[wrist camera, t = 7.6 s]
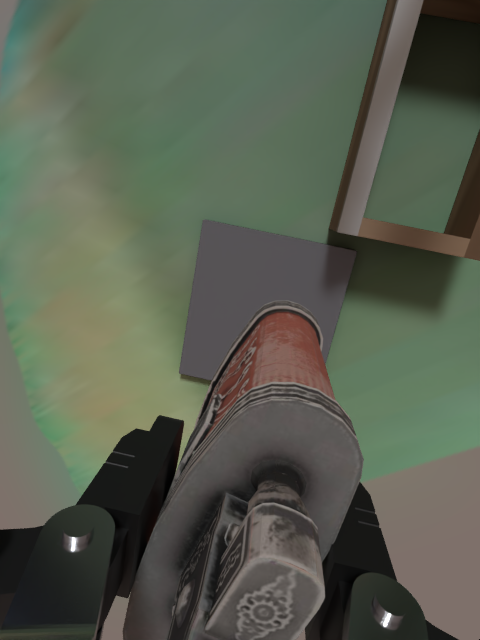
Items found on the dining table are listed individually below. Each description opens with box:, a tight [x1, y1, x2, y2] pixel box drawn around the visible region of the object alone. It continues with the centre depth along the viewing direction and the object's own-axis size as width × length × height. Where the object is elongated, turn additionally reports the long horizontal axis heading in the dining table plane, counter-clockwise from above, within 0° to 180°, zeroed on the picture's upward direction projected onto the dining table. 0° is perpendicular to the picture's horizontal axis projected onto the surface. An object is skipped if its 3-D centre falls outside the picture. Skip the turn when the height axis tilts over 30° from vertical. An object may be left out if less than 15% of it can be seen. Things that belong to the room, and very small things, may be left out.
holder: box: [329, 0, 480, 261], centre depth 20 cm, size 8×13×4 cm, turn 169°
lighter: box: [123, 301, 364, 640], centre depth 10 cm, size 8×3×10 cm, turn 155°
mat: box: [179, 220, 357, 380], centre depth 26 cm, size 10×11×1 cm
